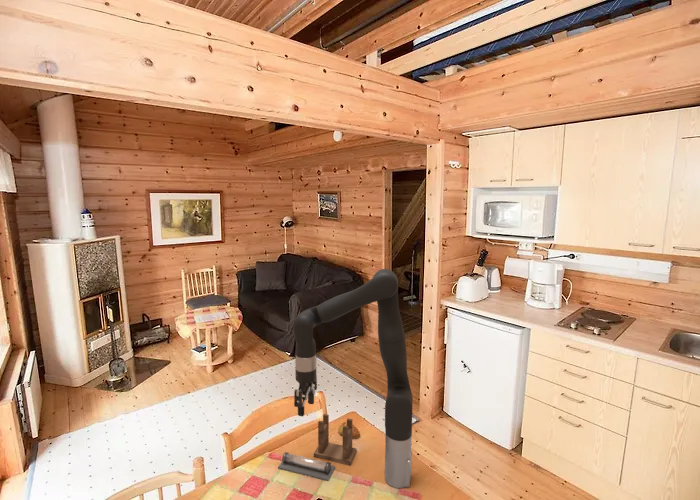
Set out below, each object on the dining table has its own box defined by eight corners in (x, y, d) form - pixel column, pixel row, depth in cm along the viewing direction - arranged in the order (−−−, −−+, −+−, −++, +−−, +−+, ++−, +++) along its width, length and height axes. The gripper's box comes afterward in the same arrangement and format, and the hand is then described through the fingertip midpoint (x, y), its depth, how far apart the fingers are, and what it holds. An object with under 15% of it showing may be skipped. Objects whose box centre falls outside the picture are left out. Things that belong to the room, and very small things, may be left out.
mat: (335, 467, 132) (335, 466, 131) (328, 481, 125) (328, 479, 125) (286, 456, 138) (286, 454, 138) (277, 468, 131) (277, 467, 131)
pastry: (363, 434, 152) (363, 426, 152) (353, 442, 147) (353, 434, 146) (346, 426, 158) (346, 418, 157) (336, 434, 152) (336, 425, 152)
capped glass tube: (331, 469, 130) (331, 460, 130) (327, 475, 127) (327, 466, 126) (286, 458, 136) (286, 450, 135) (282, 464, 132) (282, 455, 132)
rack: (356, 451, 140) (356, 418, 139) (350, 465, 133) (350, 430, 131) (321, 444, 145) (321, 411, 144) (313, 456, 137) (313, 422, 136)
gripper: (307, 376, 119) (307, 422, 121) (323, 360, 133) (323, 401, 135) (287, 373, 122) (287, 418, 123) (304, 357, 135) (305, 398, 137)
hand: (306, 409), depth 129 cm, fingers open, 8 cm apart
